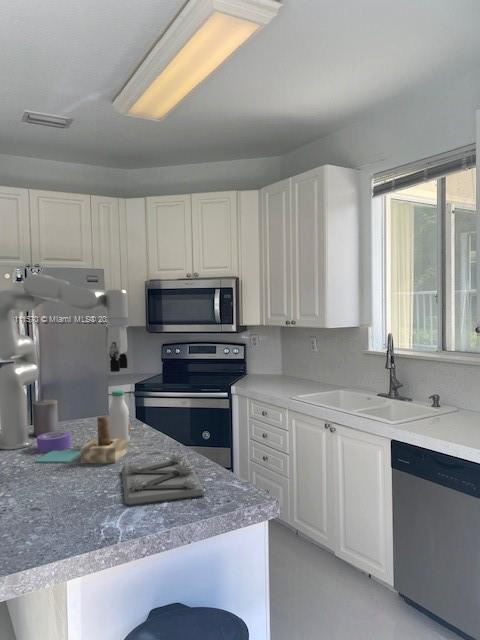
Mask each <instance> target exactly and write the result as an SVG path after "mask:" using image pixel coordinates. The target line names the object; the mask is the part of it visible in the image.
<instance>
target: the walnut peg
mask: <svg viewBox="0 0 480 640" xmlns="http://www.w3.org/2000/svg"><path fill="white" fill-rule="evenodd" d="M96 420H97V421H96V423H97V439H98V446H109V445H110V425H109V416H99V417H97V418H96Z"/></svg>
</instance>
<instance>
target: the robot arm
mask: <svg viewBox="0 0 480 640" xmlns="http://www.w3.org/2000/svg"><path fill="white" fill-rule="evenodd" d="M22 287H23V289H3V290H0V360H2V361H13V360H14V361H15V362H14V363H8V364H5V365H3V366H1V368H0V425H1V426H0V430H1V431H0V432H1V434H0V450H5V451H6V450H7V451H8V450H18V449H19V450H20V449H22V448H23V449H24V448H27V447H30V446H32V445H33V444H34V440H33V438H29V436H30V435H29V413H28V397H27V393H26V391H25V388H24V387H25V386H29V385H31V384H34V383H35V382H36V381H38V379H39V375H40V370H39V362H38V356H37V355H38V354H37V349H36V345H35V342H34V341H33V339H32V338H31V337H30V336H29V335H26V334H19V330H18V325H17V322H16V319H15V317H14V316H13V315H12V313H13V312H15V313H17V312H24V313H25V312H30V311H33V310H34V309H36V308H38V307H39V306H40V305H42V304H44V303H45V302H46V301H53V302H55V303H60V304H63V305H65V306H67V307H72V308H76V309H81V310H86V311H101V310H102V311H103V310H105V311H106V328H107V341H106V342H107V351H106V352H107V354H108V355H109V361H110V362H109V364H110V366H109V367H110V372H111V373H115V372H117V373H118V372H120V371H121V369H127V368H128V353H127V352H128V334H127V332H128V331H127V328H129V318H128V317H129V313H128V312H129V311H128V294H127V290H125V289H122V288H121V289H119V288H113V289H108V290H106V289H98V288H97V289H95V288H85V287H80V286H77V285H73V284H70V282H69V281H67V280H65V279H59V278H55V277H53V276H51V275H48V274H36V273H34V274H33V273H32V274H30V275H28V276H26V277H25V278H24V280H23V282H22Z"/></svg>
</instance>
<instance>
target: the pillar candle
mask: <svg viewBox="0 0 480 640" xmlns="http://www.w3.org/2000/svg"><path fill="white" fill-rule="evenodd" d="M58 413H59V411H58V400H56V399H41V400H36V401H33V402H32V414H33V415H32V418H33V419H32V420H33V436H34V437H36V438H37V437H38V436H39V435H41V434H45V433H49V432H58V431H59V414H58Z"/></svg>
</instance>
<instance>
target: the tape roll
mask: <svg viewBox="0 0 480 640" xmlns="http://www.w3.org/2000/svg"><path fill="white" fill-rule="evenodd" d="M71 442H72V441H71V432H69V431H59V430H58V432H49V433H45V434H41V435H39V436H38V437H36V443H37V444H36V445H37V451H38V452H40V453H49V452H51V451H66V450H68V449H70V447H72V445H71V444H72V443H71Z"/></svg>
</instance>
